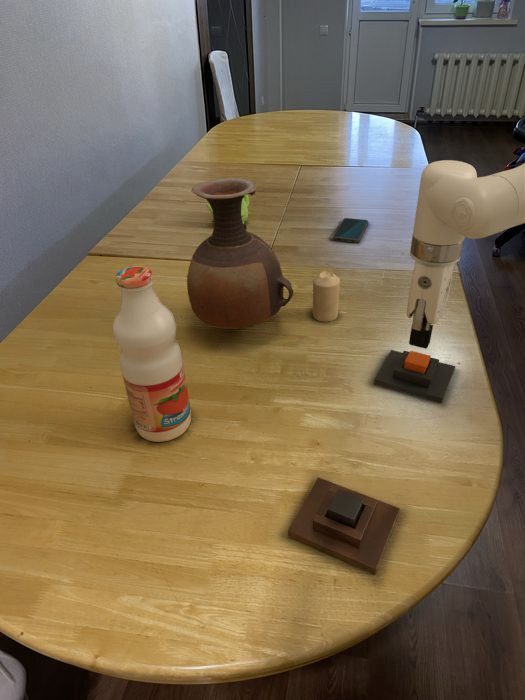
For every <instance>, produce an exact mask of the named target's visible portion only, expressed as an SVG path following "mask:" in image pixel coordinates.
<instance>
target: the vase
mask: <svg viewBox="0 0 525 700" xmlns="http://www.w3.org/2000/svg"><path fill="white" fill-rule="evenodd" d="M257 189H258V186H257V183H256V182H255V181H254V180H251V179H248V178H242V177H225V178H217V179H209V180H207V181H202V182H199V183H197V184H195V185H194V186H193V187H192V188H191V192H192V194H194V195H196V197H200V198H201V199H204V200H206V201H207V203H209V204H210V206H211V208H212V211H213V217H214V218H213V217H212V218H213V231H212V233H211V235H210V236H208V237H207V238H206V239H205V240H203V241H202V242H201V243H200V244H199V245H198V246H197V247H196V249H195V251H194V252H193V254H192V256H191V260H190V262H189V265H188V266H189V267H188V271H187V276H186V286H187V288H186V289H187V294H188V295H187V296H188V301H189V304H190V307H191V310H192V312H193V314H194V316H196V318H197V319H198V320H199V321H200V322H201V323H203V324H204V325H207V326H210V327H214V328H217V329H226V330H227V329H228V330H243V329H247V328H252V327H256V326H258V325H261V324H263V323H265V322H267V321H269V320H271V319H272V318H273V317H275V316H276V315H277V314H278V313H279V312H280V311H281V308H283V307H285V306H286V305H287V304H288V303H289V302H290V301H291V300H292V298H293V296H294V290H293V286H292V283H291V282H290V281H289V280H288V279H287V278H286V277H284V275H283V271H282V266H281V263H280V261H279V259H278V257H277V255H276V253H275V252H274V251H273V249H272V248H271V246H270V245H269V244H268V243H267V242H266V241H265V240H264V239H263V238H261V237H260V236H258V235H256V234H255V233H253V232H250V231H247V224H245V223H244V224H243V222H242V217H241V204H242V200H243V197H244V195H247V194H248V195H250V196H254V195H255V194H256V191H257ZM284 288H285V289H286V290H287V291H288V297H287V298H285V297H284V292H285V291H284V290H285V289H284Z"/></svg>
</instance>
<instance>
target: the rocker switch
mask: <svg viewBox="0 0 525 700" xmlns="http://www.w3.org/2000/svg"><path fill="white" fill-rule="evenodd" d="M363 502H364V499H362V498H360V497H357V496H354V495H352V494H349V493H346V492H344V491H341V490H339V489H338V490H337V492H336V494H335V496H334V498H333V500H332V502H331V504H330V506H329V508H328V514H327V517H328V518H330V519H332V520H335V521H337V522H340V523H342V524H345V525H347V526H349V527H352V528H354V526H355V523H356V521H357V519H358V517H359V515H360V513H361V510H362V508H363Z"/></svg>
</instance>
